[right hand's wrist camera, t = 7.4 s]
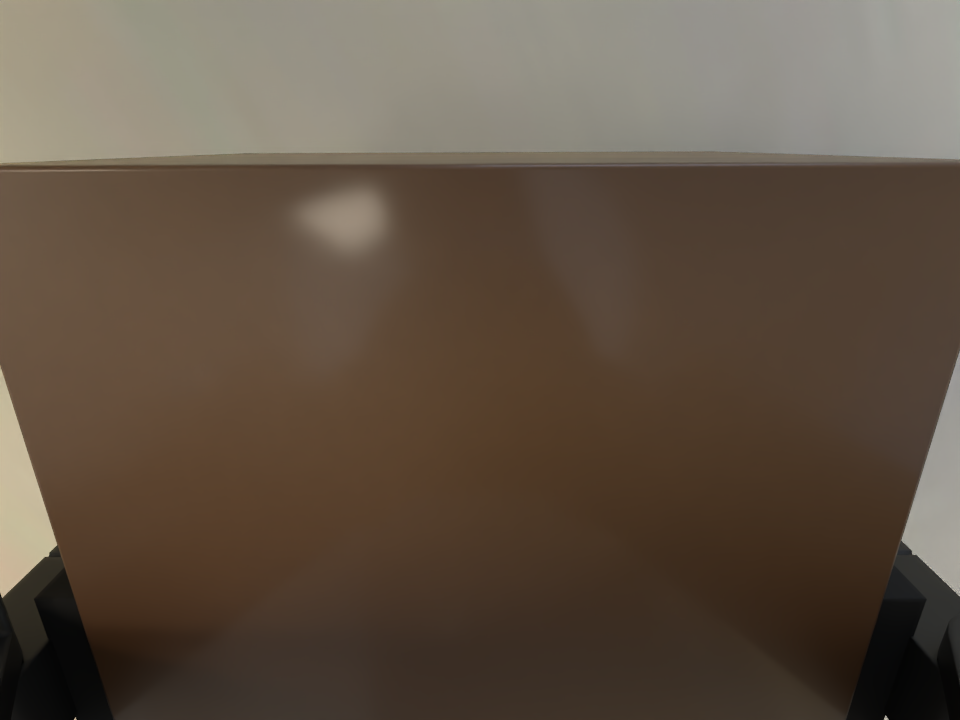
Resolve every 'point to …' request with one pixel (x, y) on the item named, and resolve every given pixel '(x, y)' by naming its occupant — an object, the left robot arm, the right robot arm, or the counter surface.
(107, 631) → the thick board
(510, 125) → the counter surface
